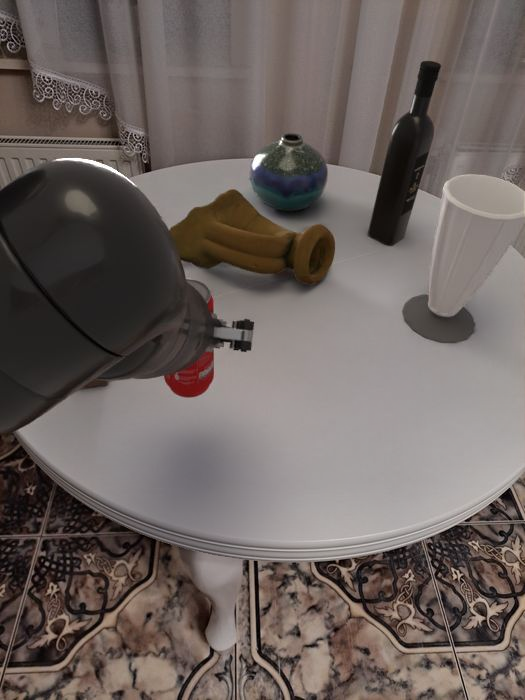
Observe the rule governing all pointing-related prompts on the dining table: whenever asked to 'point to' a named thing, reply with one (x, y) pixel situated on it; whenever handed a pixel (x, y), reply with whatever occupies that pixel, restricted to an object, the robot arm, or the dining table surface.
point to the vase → (288, 174)
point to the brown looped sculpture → (251, 240)
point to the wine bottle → (405, 162)
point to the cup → (465, 252)
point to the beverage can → (202, 370)
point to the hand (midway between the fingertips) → (190, 331)
